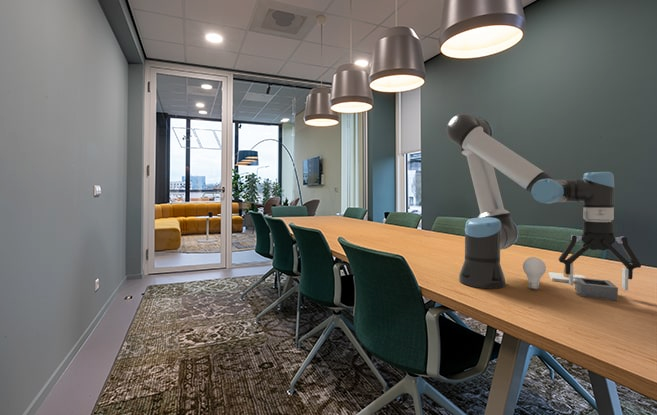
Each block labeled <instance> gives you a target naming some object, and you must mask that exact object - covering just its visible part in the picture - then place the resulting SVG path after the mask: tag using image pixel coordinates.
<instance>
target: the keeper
mask: <svg viewBox="0 0 657 415" xmlns="http://www.w3.org/2000/svg"><path fill="white" fill-rule="evenodd" d="M568 258H569V257H567V258H566V259H565V260H567V259H568ZM571 264H572V265H573V266H574V262H573V263H571ZM548 277H550V279H551V281H553V282H559V283H568V284H569V274H566V273H565V264H564V263H563V272H562V273H561V272H553V271H552V272H550V271H548ZM575 277H579V278H586V277H585V275H583V274H574V273H573V284H575Z"/></svg>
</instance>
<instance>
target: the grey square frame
mask: <svg viewBox="0 0 657 415" xmlns="http://www.w3.org/2000/svg"><path fill="white" fill-rule="evenodd" d="M574 289H575V290H574V291H576V293H577V294H578V295H579V297H581V298H590V299H591V298H592V299H598V300H607V301H616V302H617V301H618V296H619V287H618V286H616V285H615V284H614V283H612V281H611V280H608V279H607V280H606V279H598V278H588V277H585V278H579V277H575V283H574Z"/></svg>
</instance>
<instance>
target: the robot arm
mask: <svg viewBox="0 0 657 415" xmlns="http://www.w3.org/2000/svg"><path fill="white" fill-rule="evenodd" d="M445 130H446V135H447V138H448V139H449V140H450V141H451V142H452V143H454V144H455V145H456V146H458V147H459V148H460V152H461V154H462V155H463V156H465V157H466V159H467V164H468V167H469V173H470V177H471V180H472V184H473V185H472V186H473V189H474V191H475V192H474V193H475V196H476V201H477V205H478V209H479V215H478V216H477V217H473V218H469V219H467V220H466V222H465V228H464V262H463V264H462V266H461V269H460V272H459V275H458V276H459V278H458V280H459V282H460V283H461V284H463V285H466V286H469V287H475V288H481V289H501V288H504V287H505V286H506V276H505V275H504V274H505V273H504V272H503V268H502V265H501V250H506V249H508V248H510V247H512V246H513V245H514V244H515V243H516V242H517V241H518V238H519V234H520V231H519V228H518V226H517V225H516V223H515V222H514V221H513V220H512V217H511V216H512V215H511V212H510V211H508V210H507V209H505V207H504V203H503V200H502V195H501V191H500V187H499V184H498V179H497V175H496V170H498V171H499V172H500V173H502V174H503V175H505V176H506V177H507V178H509V179H510V180H512V182H515V183H516V184H517V185H519V186H520V187H521V188H523V189H524V190H526V191H527V192H528V193H530V194H531V196H532V198H533V199H534V200H535V201H536V202H538V203H541V204H545V205H547V204H548V205H550V204H554V203H582V205H583V206H582V207H583V209H582V210H583V211H582V212H583V213H582V218H583V219H584V221H582V234H581V235H576V234H571V235H570V239H569V242H568V243H567V245H566V246H565V248H564V250H563V251H562V253H561V254H560V256H559V258H558V261H559V263H562V264H563V265H564V264H565V273H566V274H569V283H568V284H569V285H570V286H574V283H573V274H574V262H575V261H576V260H578V259H579V257H581V255H583V254H584V253H585V252H587V251H589V249H590V250H591V251H598V250H599V251H606V250H608V251H609V252H610V253H611V254H612V255H613V256H614V257H615V258H616V259H617V260H618V261H619V262H620V263H621V264H622V265H624V267H621V268H622V269H621V272H622V273H621V276H622V277H621V289H623V290H624V291H629V280H632V279H633V273H634V272H633V271H634V269H640V268H641V267H642V265H641V263H640V262H639V260H638V258H637V256H636V255H635V253H634V252H633V250H632V249H631V247H630V246H629V242H628V238H627V237H625V236H622V235H620V236H619V237H618V236H617V237H616V236H615V235H614V232H615V231H614V229H615V227H614V226H615V223H614V222H613V221H614V220H615V218H614V216H615V215H614V214H615V188H616V185H615V175H614V174H613V173H612V172H611V171H596V172H585V173H584V174H583V177H582V178H579V179H556V178H554V177H553V176H551V175H550V174H548V173H547V172H545V171H544V170H543V169H541V168H539V167H538V166H536V165H535V164H533V163H531V162H530V161H528V160H527V159H526V158H524V157H522V155H519V154H518V153H516V152H515V151H513V150H512V149H510V148H509V147H507V146H506V145H504V143H503V144H502V143H501V142H500V141H498V140H496V139H495V138H493V136H494V129H493V126H492V125H491V123H490V122H489V121H488V120H487V119H485V118H483V117H480V116H475V115H472V114H470V113H459V114H456V115H454V116H453V117H451V119H450V120H449V121H448V123H447V125H446V129H445ZM495 169H496V170H495ZM580 240H581V241H582V243H583V244H581V246H580V247H579V248H578V249H577V250H575V252H574V253H572V254H571V255H570V253H571V252H572V250H573V248H574V246H575V245H576V243H579V241H580ZM615 242H617V243H618V244H619V245H621V247H622V249H623V251H624V252H625V254H626V256H627V257H628V259H629V260H630V262H629V261H628V260H627V259H626V258H625V257H624V256H623V255H622V254H620V252H619V251H617V250H616V248H615V247H614V246H613V244H614V243H615ZM569 255H570V256H569ZM568 256H569V257H568ZM566 258H568V259H567V260H565V259H566ZM571 263H573V265H572V264H571Z"/></svg>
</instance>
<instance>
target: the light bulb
mask: <svg viewBox="0 0 657 415" xmlns="http://www.w3.org/2000/svg"><path fill="white" fill-rule="evenodd" d="M522 270H523V272H524V273H525V275H526V277H527V283H528V288H530V289H531V290H533V291H535V290H538V289H539V288H540V287H539V286H540V285H539V284H540V283H541V278H542V277H543V276H544V274H545V273H546V270H547V266H546V262H544V261H543V260H542V259H541V258H539V257H528V258H526V259H524V261H523V264H522Z"/></svg>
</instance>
